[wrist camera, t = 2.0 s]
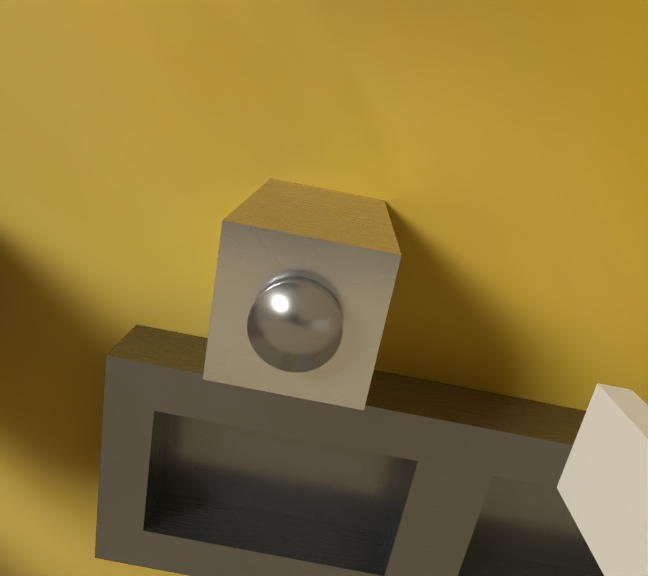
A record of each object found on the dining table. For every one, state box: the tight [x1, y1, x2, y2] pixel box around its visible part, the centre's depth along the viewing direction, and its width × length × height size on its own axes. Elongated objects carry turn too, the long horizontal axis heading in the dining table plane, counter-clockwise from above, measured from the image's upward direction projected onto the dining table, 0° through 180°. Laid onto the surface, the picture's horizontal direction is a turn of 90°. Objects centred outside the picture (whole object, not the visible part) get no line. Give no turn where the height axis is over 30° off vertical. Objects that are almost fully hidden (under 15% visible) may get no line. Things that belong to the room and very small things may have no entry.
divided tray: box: [95, 325, 604, 576], centre depth 23 cm, size 10×28×3 cm, turn 79°
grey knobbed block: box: [203, 178, 402, 410], centre depth 17 cm, size 4×4×9 cm
